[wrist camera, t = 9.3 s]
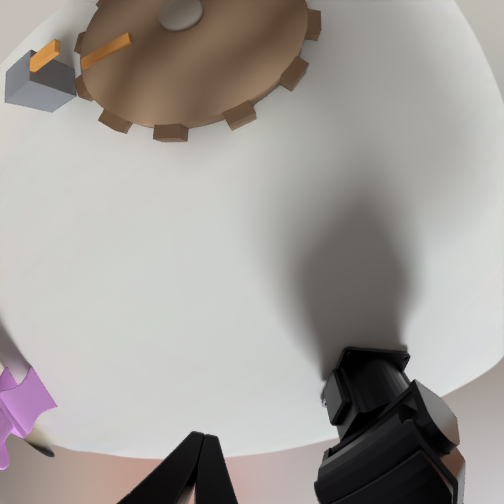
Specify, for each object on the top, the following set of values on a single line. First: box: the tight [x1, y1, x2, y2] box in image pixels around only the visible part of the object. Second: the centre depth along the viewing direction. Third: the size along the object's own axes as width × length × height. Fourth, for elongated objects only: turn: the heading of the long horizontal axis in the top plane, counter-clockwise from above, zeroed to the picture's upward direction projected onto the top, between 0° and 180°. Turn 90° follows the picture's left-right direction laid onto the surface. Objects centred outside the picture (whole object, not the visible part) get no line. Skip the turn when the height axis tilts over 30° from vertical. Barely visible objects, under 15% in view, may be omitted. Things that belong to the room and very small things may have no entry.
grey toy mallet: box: [5, 39, 76, 113], centre depth 14 cm, size 3×6×6 cm, turn 105°
